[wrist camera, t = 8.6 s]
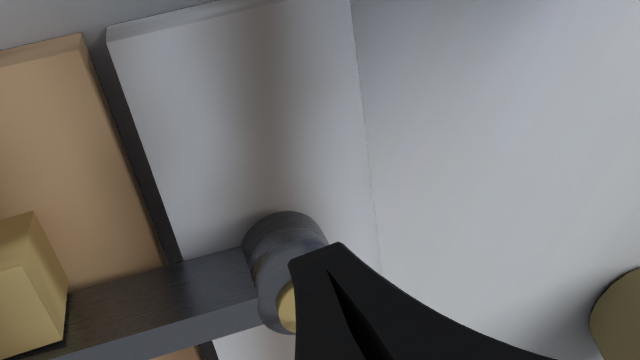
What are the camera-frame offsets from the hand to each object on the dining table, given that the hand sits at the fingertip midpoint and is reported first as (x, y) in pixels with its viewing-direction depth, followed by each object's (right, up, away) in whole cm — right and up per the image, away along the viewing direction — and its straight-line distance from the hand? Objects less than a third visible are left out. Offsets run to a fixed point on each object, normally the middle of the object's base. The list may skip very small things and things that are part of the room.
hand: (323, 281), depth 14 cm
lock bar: (-6, -1, +7) cm, 9 cm away
